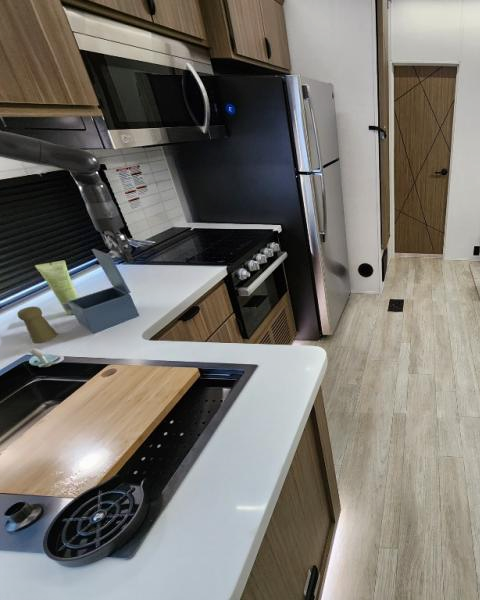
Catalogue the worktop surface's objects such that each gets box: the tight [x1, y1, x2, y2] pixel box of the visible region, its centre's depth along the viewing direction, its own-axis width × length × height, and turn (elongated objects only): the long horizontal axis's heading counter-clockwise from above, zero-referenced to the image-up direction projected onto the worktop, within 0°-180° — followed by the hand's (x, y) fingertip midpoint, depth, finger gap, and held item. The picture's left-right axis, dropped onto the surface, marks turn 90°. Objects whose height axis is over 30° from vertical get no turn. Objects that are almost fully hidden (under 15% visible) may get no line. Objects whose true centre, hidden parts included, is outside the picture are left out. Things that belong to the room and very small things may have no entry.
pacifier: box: [28, 347, 65, 368], centre depth 95 cm, size 7×6×6 cm
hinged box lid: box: [91, 248, 131, 294], centre depth 117 cm, size 14×13×5 cm
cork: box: [17, 306, 58, 344], centre depth 106 cm, size 6×6×11 cm
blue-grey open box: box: [67, 286, 140, 335], centre depth 116 cm, size 14×13×9 cm
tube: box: [34, 260, 79, 315], centre depth 119 cm, size 6×5×20 cm
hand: (124, 260), depth 118 cm, fingers open, 8 cm apart
